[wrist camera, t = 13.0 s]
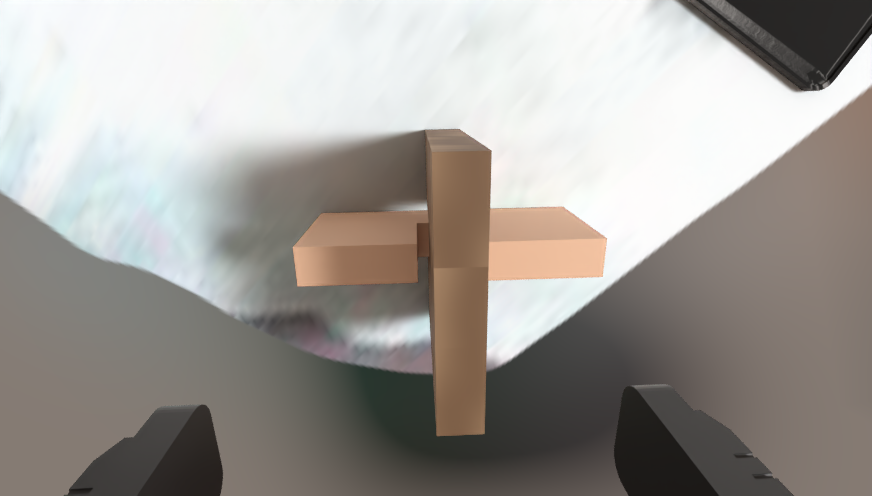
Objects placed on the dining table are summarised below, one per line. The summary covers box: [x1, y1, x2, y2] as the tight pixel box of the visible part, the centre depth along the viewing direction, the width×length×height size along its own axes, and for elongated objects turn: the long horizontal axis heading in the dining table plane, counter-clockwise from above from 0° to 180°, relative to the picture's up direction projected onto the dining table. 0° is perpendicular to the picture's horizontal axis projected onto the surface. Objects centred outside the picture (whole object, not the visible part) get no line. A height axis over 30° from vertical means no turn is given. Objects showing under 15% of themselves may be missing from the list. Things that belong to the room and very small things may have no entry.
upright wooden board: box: [425, 129, 491, 436], centre depth 27 cm, size 2×14×14 cm, turn 1°
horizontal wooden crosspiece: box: [293, 207, 607, 287], centre depth 29 cm, size 18×2×8 cm, turn 91°
